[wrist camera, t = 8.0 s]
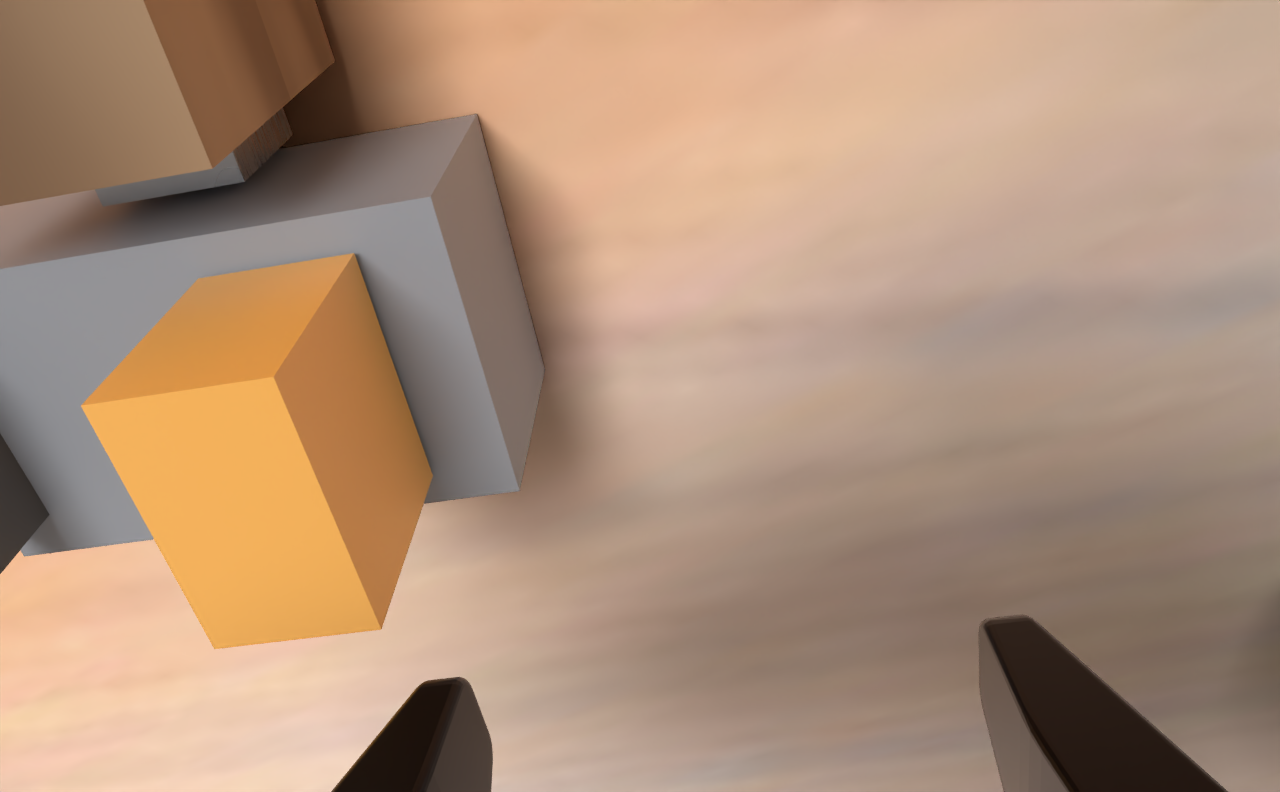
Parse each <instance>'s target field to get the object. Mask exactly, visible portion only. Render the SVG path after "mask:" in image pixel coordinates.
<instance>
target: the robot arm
mask: <svg viewBox="0 0 1280 792" xmlns="http://www.w3.org/2000/svg"><path fill="white" fill-rule="evenodd" d="M979 685H980V695H981V701H982V706H983V711H984V715H985V719H986V723H987V727H988V731H989V735H990V739H991V743H992V747H993V751H994V754H995V758H996V762H997V766H998V770H999V774H1000V778H1001V782H1002V786H1003V790H1004V792H1228V791H1227V790H1226V789H1225V788H1223V787H1222V786H1221V785H1220V784H1219V783H1218V782H1217V781H1216V780H1214V779H1213V778H1212V777H1211V776H1210V775H1209V774H1208V773H1207V772H1205V771H1204V770H1203V769H1202V768H1201V767H1200V766H1199V765H1198V764H1196V763H1195V762H1194V761H1193V760H1192V759H1191V758H1190V757H1189V756H1187V755H1186V754H1185V753H1184V752H1183V751H1182V750H1181V749H1180V748H1178V747H1177V746H1176V745H1175V744H1174V743H1173V742H1172V741H1170V740H1169V739H1168V738H1167V737H1166V736H1165V735H1164V734H1163V733H1161V732H1160V731H1159V730H1158V729H1157V728H1156V727H1155V726H1154V725H1152V724H1151V723H1150V722H1149V721H1148V720H1147V719H1146V718H1145V717H1143V716H1142V715H1141V714H1140V713H1139V712H1138V711H1137V710H1136V709H1134V708H1133V707H1132V706H1131V705H1130V704H1129V703H1128V702H1127V701H1125V700H1124V699H1123V698H1122V697H1121V696H1120V695H1119V694H1118V693H1116V692H1115V691H1114V690H1113V689H1112V688H1111V687H1110V686H1109V685H1107V684H1106V683H1105V682H1104V681H1103V680H1102V679H1101V678H1099V677H1098V676H1097V675H1096V674H1095V673H1094V672H1093V671H1092V670H1090V669H1089V668H1088V667H1087V666H1086V665H1085V664H1084V663H1083V662H1081V661H1080V660H1079V659H1078V658H1077V657H1076V656H1075V655H1074V654H1072V653H1071V652H1070V651H1069V650H1068V649H1067V648H1066V647H1065V646H1063V645H1062V644H1061V643H1060V642H1059V641H1058V640H1057V639H1056V638H1054V637H1053V636H1052V635H1051V634H1050V633H1049V632H1048V631H1047V630H1045V629H1044V628H1043V627H1042V626H1041V625H1040V624H1039V623H1038V622H1036V621H1035V620H1034V619H1033V618H1031V617H1029V616H1026V615H1015V616H1005V617H996V618H988V619H985V620H984V621H982V622H981V624H980V627H979ZM492 765H493V752H492V743H491V738H490V734H489V731H488V729H487V726H486V724H485V721H484V718H483V716H482V713H481V710H480V708H479V705H478V702H477V700H476V697H475V694H474V692H473V689H472V687H471V685H470V683H469V682H468V681H467V680H466V679H464V678H461V677H455V678H446V679H437V680H429V681H426V682H423V683H422V684H421V685H419V686H418V687H417V688H416V689H415V691H414V692H413V693H412V694H411V695H410V697H409V698H408V699H407V700H406V701H405V703H404V704H403V705H402V706H401V708H400V709H399V710H398V711H397V712H396V714H395V715H394V716H393V717H392V719H391V720H390V721H389V722H388V723H387V725H386V726H385V727H384V728H383V729H382V731H381V732H380V733H379V734H378V736H377V737H376V738H375V739H374V740H373V742H372V743H371V744H370V745H369V746H368V748H367V749H366V750H365V751H364V753H363V754H362V755H361V756H360V757H359V759H358V760H357V761H356V762H355V764H354V765H353V766H352V767H351V768H350V770H349V771H348V772H347V773H346V774H345V776H344V777H343V778H342V779H341V781H340V782H339V783H338V784H337V785H336V787H335V788H334V789H333V790H332V791H331V792H491V783H492Z"/></svg>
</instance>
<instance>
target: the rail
mask: <svg viewBox="0 0 1280 792" xmlns="http://www.w3.org/2000/svg"><path fill="white" fill-rule="evenodd" d="M292 135H293V133H292V130H291V128H290V125H289V122H288V119H287V117H286V114H285V111H284V108H283V107H282V108H281V109H280V110H279V111H278V112H277V113H276V114H274V115H273V116H272V117H271V118H270V119H269V120H268V121H266V122H265V123H264V124H263V125H262V126H261V127H260V128H258V129H257V130H256V131H255V132H254V133H253V134H252V135H251V136H249V137H248V138H247V139H246V140H245V141H244V142H243V143H241V144H240V145H239V146H238V147H237V148H236V149H235V150H233V151H232V152H231V153H230V154H229V155H228V156H227V157H225V158H224V159H223V160H222V161H221V162H220V163H219V164H217V165H216V166H215V167H214V168H213V169H208V170H203V171H197V172H191V173H185V174H180V175H174V176H168V177H163V178H157V179H151V180H146V181H140V182H134V183H129V184H123V185H117V186H112V187H106V188H100V189H95V191H96V193H97V196H98V198H99V200H100V202H101V204H102V206H103V207H104V206H110V205H115V204H121V203H127V202H133V201H138V200H144V199H150V198H156V197H161V196H167V195H173V194H179V193H184V192H190V191H196V190H202V189H207V188H213V187H219V186H225V185H230V184H236V183H242V182H245V181H246V180H247V179H248V178H249V177H250V176H251V175H252V174H253V173H254V172H255V171H256V170H257V169H259V168H260V167H261V166H262V165H263V164H264V163H265V162H266V161H267V160H268V159H269V158H270V157H271V156H272V155H273V154H274V153H275V152H276V151H277V150H278V149H279V148H280V147H281V146H282V145H283V144H284V143H285V142H286V141H287V140H288V139H289V138H290V137H291V136H292Z"/></svg>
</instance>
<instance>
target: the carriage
mask: <svg viewBox="0 0 1280 792" xmlns="http://www.w3.org/2000/svg"><path fill="white" fill-rule="evenodd" d="M334 62H335V60H334V57H333V53H332V50H331V47H330V44H329V41H328V38H327V35H326V32H325V29H324V26H323V23H322V20H321V17H320V14H319V11H318V8H317V5H316V2H315V0H0V206H4V205H10V204H15V203H21V202H27V201H32V200H38V199H44V198H49V197H55V196H61V195H66V194H72V193H78V192H83V191H89V190H95V189H100V188H106V187H112V186H117V185H123V184H129V183H134V182H140V181H146V180H151V179H157V178H163V177H168V176H174V175H180V174H185V173H191V172H197V171H203V170H208V169H213V168H214V167H215V166H216V165H217V164H219V163H220V162H221V161H222V160H223V159H224V158H225V157H227V156H228V155H229V154H230V153H231V152H232V151H233V150H235V149H236V148H237V147H238V146H239V145H240V144H241V143H243V142H244V141H245V140H246V139H247V138H248V137H249V136H251V135H252V134H253V133H254V132H255V131H256V130H257V129H258V128H260V127H261V126H262V125H263V124H264V123H265V122H266V121H268V120H269V119H270V118H271V117H272V116H273V115H274V114H276V113H277V112H278V111H279V110H280V109H281V108H282V107H284V106H285V105H286V104H287V103H288V102H289V101H290V100H292V99H293V98H294V97H295V96H296V95H297V94H298V93H300V92H301V91H302V90H303V89H304V88H305V87H306V86H308V85H309V84H310V83H311V82H312V81H313V80H314V79H315V78H317V77H318V76H319V75H320V74H321V73H322V72H323V71H325V70H326V69H327V68H328V67H329V66H330V65H331V64H333V63H334Z"/></svg>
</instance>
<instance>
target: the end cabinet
mask: <svg viewBox="0 0 1280 792" xmlns="http://www.w3.org/2000/svg"><path fill="white" fill-rule="evenodd" d="M351 253H354V254H355V257H356V259H357V262H358V265H359V268H360V271H361V274H362V276H363V279H364V282H365V285H366V288H367V291H368V293H369V296H370V299H371V302H372V305H373V308H374V310H375V313H376V316H377V319H378V322H379V325H380V327H381V330H382V333H383V336H384V339H385V342H386V344H387V347H388V350H389V353H390V356H391V358H392V361H393V364H394V367H395V370H396V373H397V375H398V378H399V381H400V384H401V387H402V390H403V392H404V395H405V398H406V401H407V404H408V407H409V409H410V412H411V415H412V418H413V421H414V424H415V426H416V429H417V432H418V435H419V438H420V441H421V443H422V446H423V449H424V452H425V455H426V457H427V460H428V463H429V466H430V469H431V472H432V474H433V477H432V480H431V483H430V486H429V489H428V492H427V495H426V498H425V501H424V504H425V503H432V502H440V501H447V500H455V499H463V498H470V497H478V496H485V495H493V494H500V493H508V492H516V491H520V486H521V482H522V477H523V472H524V467H525V463H526V458H527V453H528V448H529V444H530V439H531V434H532V429H533V425H534V420H535V415H536V410H537V406H538V401H539V396H540V391H541V387H542V382H543V377H544V372H545V368H544V364H543V360H542V357H541V353H540V349H539V345H538V342H537V338H536V334H535V330H534V327H533V323H532V319H531V315H530V312H529V308H528V304H527V300H526V296H525V293H524V289H523V285H522V281H521V278H520V274H519V270H518V266H517V263H516V259H515V255H514V251H513V248H512V244H511V240H510V236H509V233H508V229H507V225H506V221H505V217H504V214H503V210H502V206H501V202H500V199H499V195H498V191H497V187H496V184H495V180H494V176H493V172H492V169H491V165H490V161H489V157H488V154H487V150H486V146H485V142H484V138H483V135H482V131H481V127H480V123H479V120H478V116H477V114H473V115H468V116H462V117H457V118H451V119H445V120H440V121H434V122H428V123H423V124H417V125H411V126H406V127H400V128H394V129H389V130H383V131H378V132H372V133H366V134H361V135H355V136H349V137H344V138H338V139H332V140H327V141H321V142H315V143H310V144H304V145H299V146H293V147H287V148H282V149H278V150H277V151H276V152H275V153H274V154H273V155H272V156H271V157H270V158H269V159H268V160H267V161H266V162H265V163H264V164H263V165H262V166H261V167H260V168H259V169H257V170H256V171H255V172H254V173H253V174H252V175H251V176H250V177H249V178H248V179H247V180H246V181H245V182H242V183H236V184H230V185H225V186H219V187H213V188H207V189H202V190H196V191H190V192H184V193H179V194H173V195H167V196H161V197H156V198H150V199H144V200H138V201H133V202H127V203H121V204H115V205H110V206H104V207H103V206H102V204H101V202H100V200H99V198H98V196H97V193H96V191H95V190H89V191H83V192H78V193H72V194H66V195H61V196H55V197H49V198H44V199H38V200H32V201H27V202H21V203H15V204H10V205H4V206H0V574H1V573H2V571H3V570H4V569H5V568H6V566H7V565H8V564H9V563H10V562H11V560H12V559H13V558H14V557H15V556H16V554H17V553H18V552H19V551H20V550H21V552H22V553H23V555H24V556H31V555H39V554H46V553H54V552H61V551H69V550H76V549H84V548H92V547H99V546H107V545H114V544H122V543H129V542H137V541H145V540H152V539H154V538H153V536H152V535H151V533H150V531H149V529H148V527H147V525H146V524H145V522H144V520H143V518H142V516H141V515H140V513H139V511H138V509H137V507H136V505H135V504H134V502H133V500H132V498H131V496H130V495H129V493H128V491H127V489H126V487H125V485H124V484H123V482H122V480H121V478H120V476H119V475H118V473H117V471H116V469H115V467H114V465H113V464H112V462H111V460H110V458H109V456H108V455H107V453H106V451H105V449H104V447H103V445H102V444H101V442H100V440H99V438H98V436H97V435H96V433H95V431H94V429H93V427H92V425H91V424H90V422H89V420H88V418H87V416H86V415H85V413H84V411H83V409H82V407H81V405H82V404H83V403H84V402H85V401H86V399H87V398H88V397H89V396H90V395H91V394H92V393H93V392H94V391H95V390H96V389H97V388H98V386H99V385H100V384H101V383H102V382H103V381H104V380H105V379H106V378H107V377H108V376H109V375H110V373H111V372H112V371H113V370H114V369H115V368H116V367H117V366H118V365H119V364H120V363H121V362H122V361H123V359H124V358H125V357H126V356H127V355H128V354H129V353H130V352H131V351H132V350H133V349H134V348H135V346H136V345H137V344H138V343H139V342H140V341H141V340H142V339H143V338H144V337H145V336H146V335H147V333H148V332H149V331H150V330H151V329H152V328H153V327H154V326H155V325H156V324H157V323H158V322H159V320H160V319H161V318H162V317H163V316H164V315H165V314H166V313H167V312H168V311H169V310H170V309H171V307H172V306H173V305H174V304H175V303H176V302H177V301H178V300H179V299H180V298H181V297H182V296H183V294H184V293H185V292H186V291H187V290H188V289H189V288H190V287H191V286H192V285H193V284H194V283H195V281H196V280H197V279H198V278H204V277H210V276H216V275H222V274H229V273H235V272H241V271H247V270H253V269H259V268H265V267H272V266H278V265H284V264H290V263H296V262H302V261H308V260H314V259H321V258H327V257H333V256H339V255H345V254H351Z"/></svg>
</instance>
